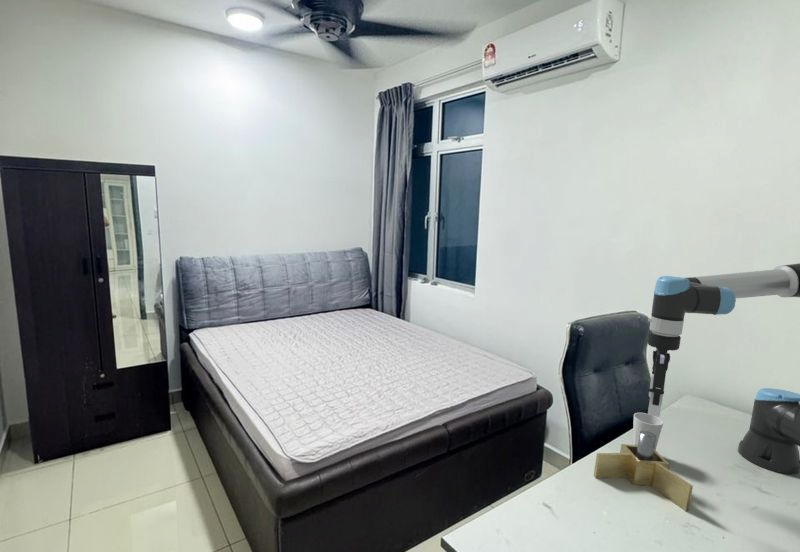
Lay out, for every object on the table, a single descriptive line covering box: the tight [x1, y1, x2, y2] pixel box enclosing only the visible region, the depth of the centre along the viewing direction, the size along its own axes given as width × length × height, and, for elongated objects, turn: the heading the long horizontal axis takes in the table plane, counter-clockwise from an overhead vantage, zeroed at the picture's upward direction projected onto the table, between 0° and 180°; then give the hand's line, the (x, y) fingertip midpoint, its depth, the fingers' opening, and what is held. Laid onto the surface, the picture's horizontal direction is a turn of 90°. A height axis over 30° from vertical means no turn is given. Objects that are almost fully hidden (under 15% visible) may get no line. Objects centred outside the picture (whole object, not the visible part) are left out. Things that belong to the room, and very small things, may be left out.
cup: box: [631, 412, 664, 451], centre depth 132 cm, size 8×8×12 cm
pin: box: [636, 431, 656, 461], centre depth 120 cm, size 4×4×13 cm
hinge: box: [593, 443, 694, 512], centre depth 116 cm, size 19×18×7 cm
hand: (653, 406), depth 117 cm, fingers open, 13 cm apart
